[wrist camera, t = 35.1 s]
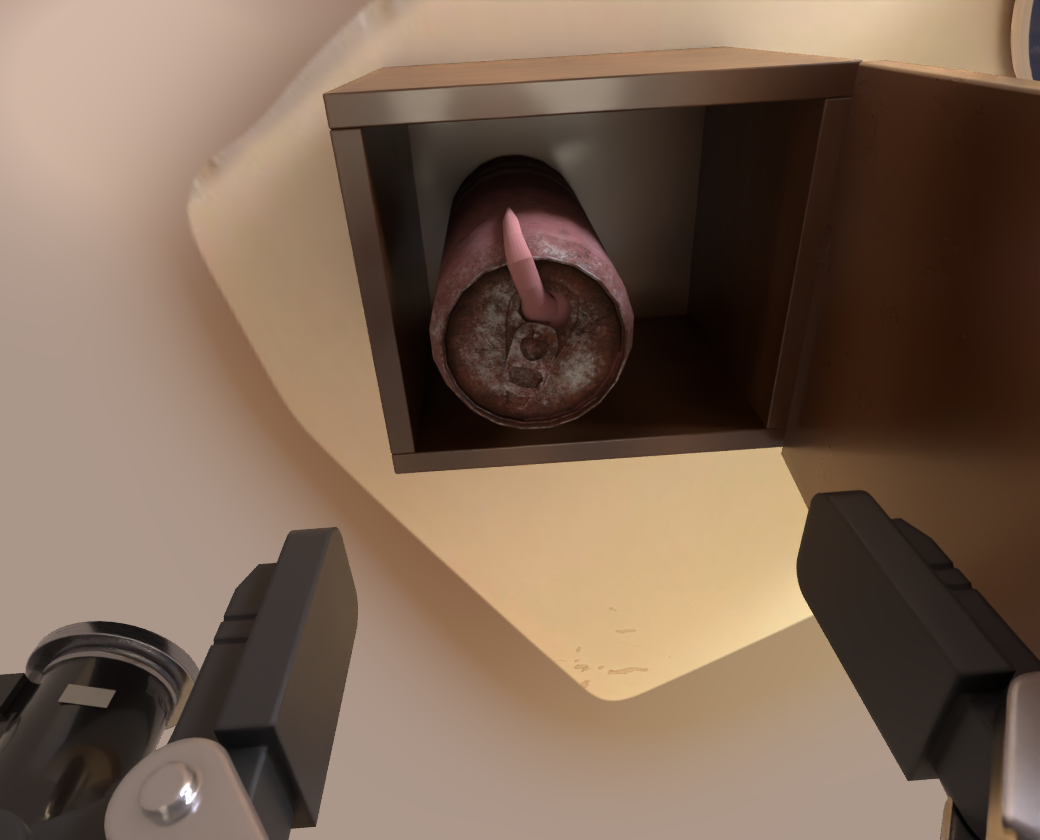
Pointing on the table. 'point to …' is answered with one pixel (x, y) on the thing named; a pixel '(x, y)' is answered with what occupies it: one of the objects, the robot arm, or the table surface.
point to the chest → (606, 233)
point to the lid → (933, 324)
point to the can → (527, 299)
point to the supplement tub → (1026, 39)
